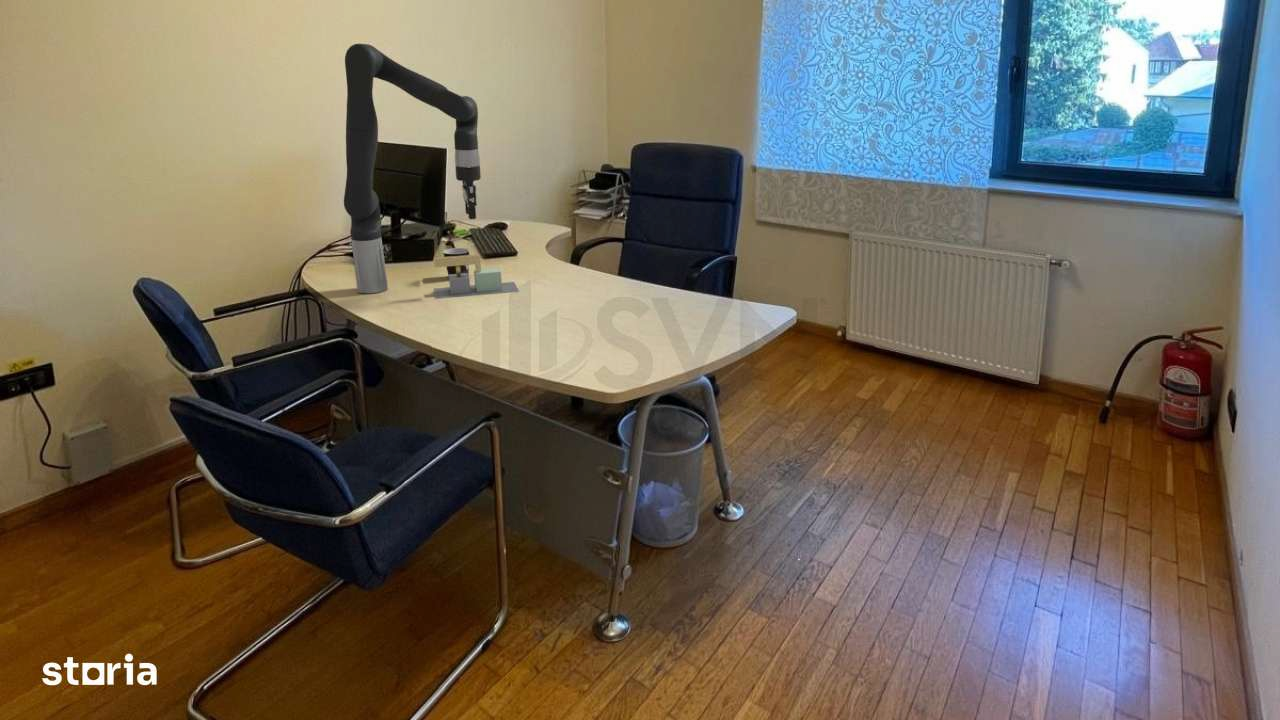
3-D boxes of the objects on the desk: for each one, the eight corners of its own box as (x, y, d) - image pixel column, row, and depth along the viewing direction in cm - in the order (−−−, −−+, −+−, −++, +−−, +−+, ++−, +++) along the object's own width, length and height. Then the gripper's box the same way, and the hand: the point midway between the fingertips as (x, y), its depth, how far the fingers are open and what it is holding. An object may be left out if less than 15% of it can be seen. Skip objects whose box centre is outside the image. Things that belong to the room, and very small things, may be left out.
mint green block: (476, 292, 255) (475, 273, 253) (475, 287, 259) (473, 269, 257) (502, 289, 257) (500, 271, 255) (500, 285, 261) (498, 267, 259)
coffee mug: (457, 284, 267) (454, 255, 263) (440, 280, 272) (437, 251, 268) (483, 277, 276) (481, 248, 272) (466, 273, 281) (464, 245, 277)
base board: (435, 301, 249) (433, 283, 247) (434, 291, 260) (432, 273, 257) (519, 294, 255) (518, 276, 253) (514, 284, 266) (513, 267, 264)
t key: (436, 278, 251) (434, 259, 249) (436, 276, 253) (434, 257, 251) (481, 274, 255) (479, 256, 253) (480, 272, 257) (479, 254, 255)
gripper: (453, 161, 253) (456, 212, 259) (457, 167, 241) (461, 221, 246) (477, 161, 255) (480, 211, 261) (482, 166, 243) (485, 220, 249)
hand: (470, 216), depth 254 cm, fingers open, 8 cm apart
